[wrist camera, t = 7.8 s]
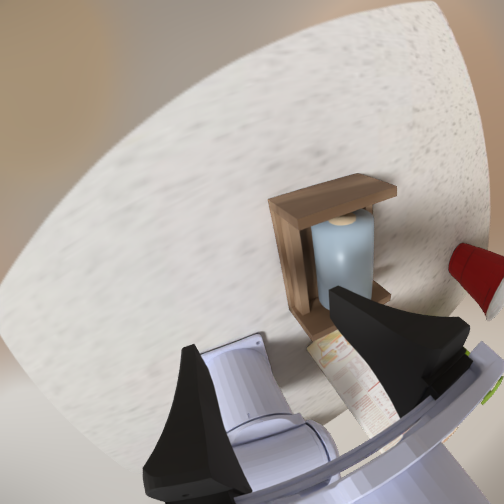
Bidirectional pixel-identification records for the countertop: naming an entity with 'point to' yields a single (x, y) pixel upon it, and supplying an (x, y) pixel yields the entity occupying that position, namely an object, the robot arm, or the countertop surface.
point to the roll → (344, 254)
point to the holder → (301, 243)
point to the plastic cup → (480, 276)
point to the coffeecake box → (356, 385)
